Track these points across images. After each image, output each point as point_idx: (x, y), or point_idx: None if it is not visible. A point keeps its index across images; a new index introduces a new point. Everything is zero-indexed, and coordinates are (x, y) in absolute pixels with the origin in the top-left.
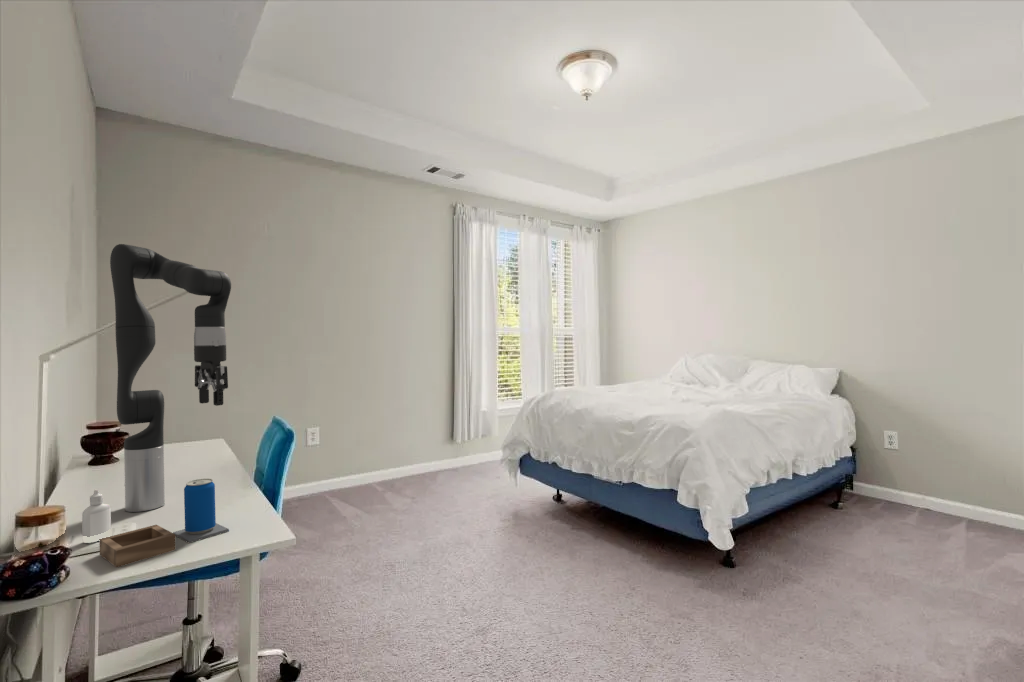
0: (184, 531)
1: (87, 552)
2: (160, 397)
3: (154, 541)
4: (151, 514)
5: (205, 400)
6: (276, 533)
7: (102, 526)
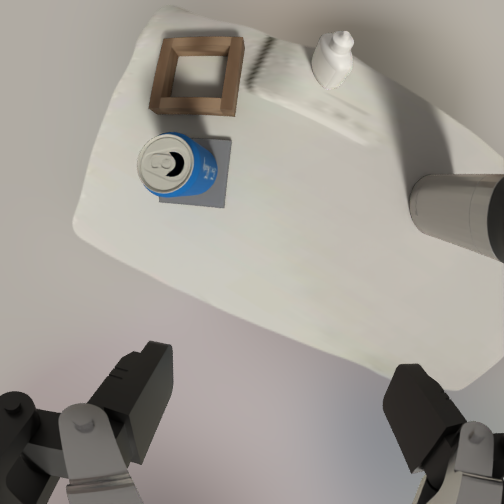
0: (215, 152)
1: (274, 44)
2: None
3: (154, 81)
4: (386, 184)
5: (394, 398)
6: (94, 237)
7: (317, 66)
